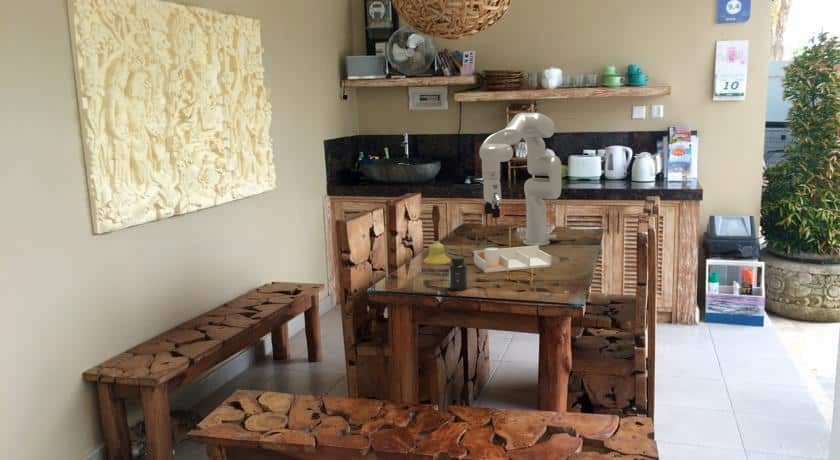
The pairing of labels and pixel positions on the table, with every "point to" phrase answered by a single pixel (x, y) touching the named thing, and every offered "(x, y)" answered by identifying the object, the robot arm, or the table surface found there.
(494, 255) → the white and grey cylinder
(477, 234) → the table surface
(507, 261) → the rack
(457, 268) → the supplement bottle
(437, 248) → the handbell
